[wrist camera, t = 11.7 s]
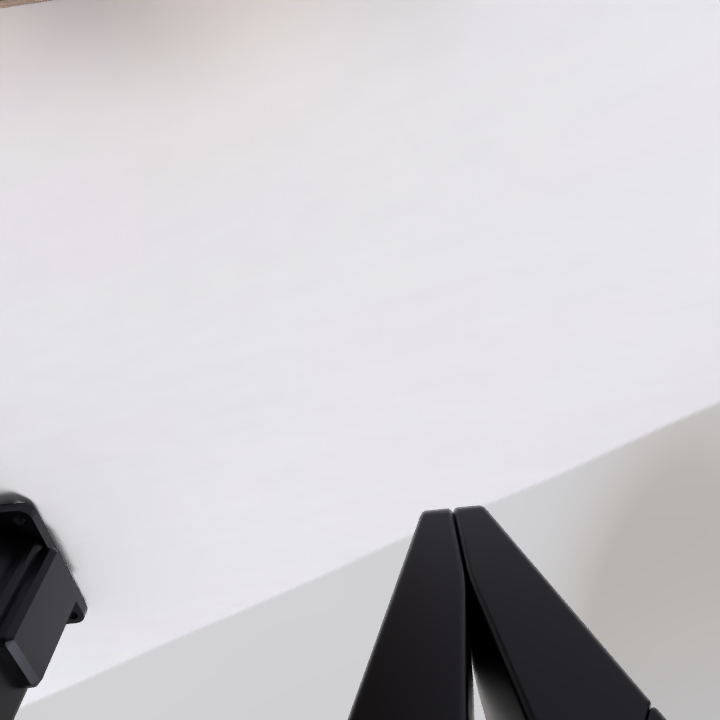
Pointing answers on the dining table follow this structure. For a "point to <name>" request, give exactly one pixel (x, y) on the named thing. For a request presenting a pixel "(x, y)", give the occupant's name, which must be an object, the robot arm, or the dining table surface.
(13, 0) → the cabinet
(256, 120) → the dining table surface
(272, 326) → the dining table surface
